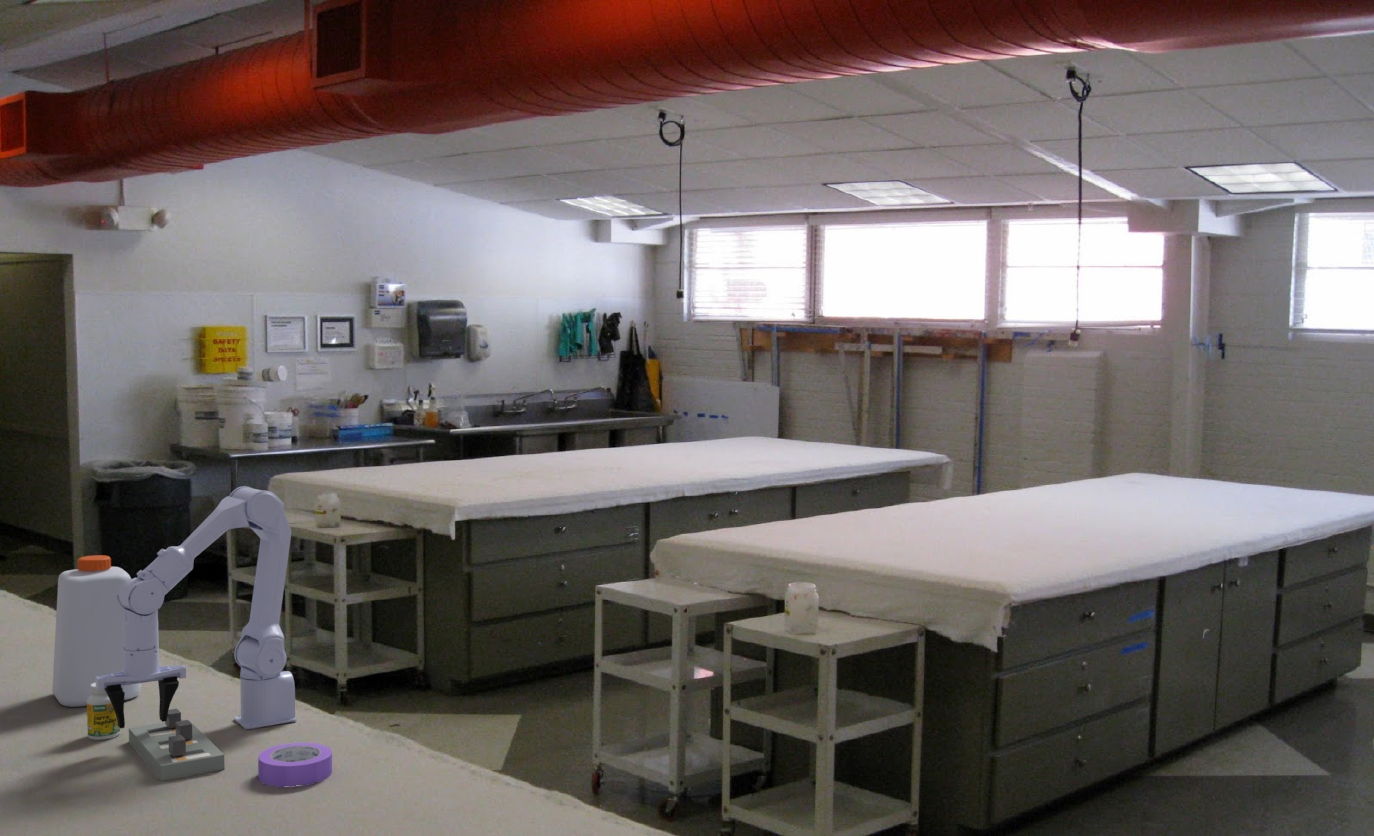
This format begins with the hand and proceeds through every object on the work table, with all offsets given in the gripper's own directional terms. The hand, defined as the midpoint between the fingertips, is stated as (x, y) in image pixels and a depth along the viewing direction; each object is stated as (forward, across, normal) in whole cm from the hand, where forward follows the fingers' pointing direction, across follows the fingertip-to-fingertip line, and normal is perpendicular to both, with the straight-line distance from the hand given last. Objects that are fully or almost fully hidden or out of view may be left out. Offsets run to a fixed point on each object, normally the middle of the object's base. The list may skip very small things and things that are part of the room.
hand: (142, 723), depth 223 cm
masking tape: (+5, -18, +29) cm, 34 cm away
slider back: (+1, -5, 0) cm, 5 cm away
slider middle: (+1, -5, +8) cm, 10 cm away
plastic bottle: (+4, 0, -38) cm, 38 cm away
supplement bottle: (+4, +4, -10) cm, 12 cm away
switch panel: (+4, -4, +8) cm, 10 cm away
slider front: (+1, -2, +16) cm, 16 cm away
